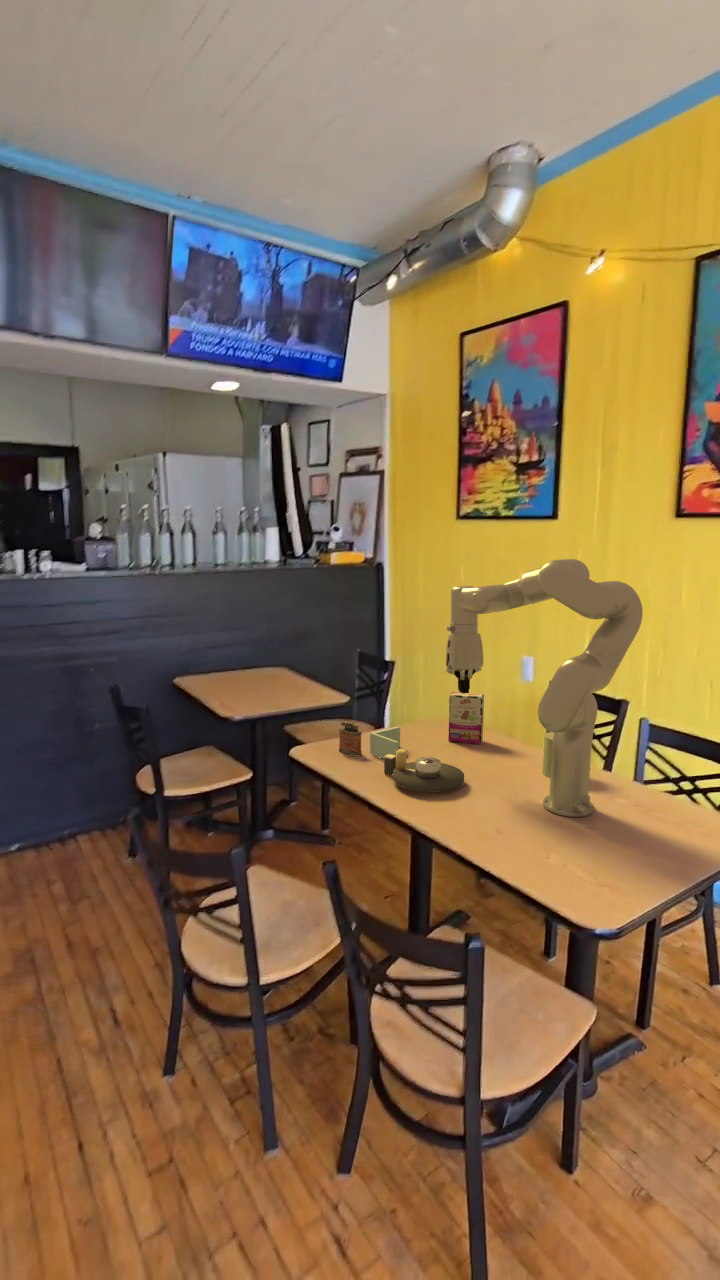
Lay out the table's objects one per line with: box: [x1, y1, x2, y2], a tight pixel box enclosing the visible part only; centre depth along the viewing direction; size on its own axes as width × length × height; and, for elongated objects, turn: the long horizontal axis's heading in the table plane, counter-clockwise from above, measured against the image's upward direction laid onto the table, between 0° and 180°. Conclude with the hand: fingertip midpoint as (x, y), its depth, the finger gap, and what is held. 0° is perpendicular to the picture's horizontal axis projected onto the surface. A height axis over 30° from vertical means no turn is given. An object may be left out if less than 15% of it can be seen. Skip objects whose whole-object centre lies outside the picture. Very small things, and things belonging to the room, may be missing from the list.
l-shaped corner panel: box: [369, 726, 408, 760], centre depth 216 cm, size 12×12×8 cm
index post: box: [383, 754, 396, 776], centre depth 200 cm, size 3×3×5 cm
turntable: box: [392, 749, 465, 793], centre depth 192 cm, size 20×20×6 cm
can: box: [541, 731, 554, 779], centre depth 201 cm, size 9×9×12 cm
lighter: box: [338, 720, 363, 756], centre depth 218 cm, size 8×3×10 cm, turn 58°
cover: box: [414, 756, 442, 780], centre depth 191 cm, size 7×7×4 cm
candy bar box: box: [448, 691, 485, 745], centre depth 230 cm, size 11×5×16 cm, turn 73°
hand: (463, 692), depth 197 cm, fingers closed
